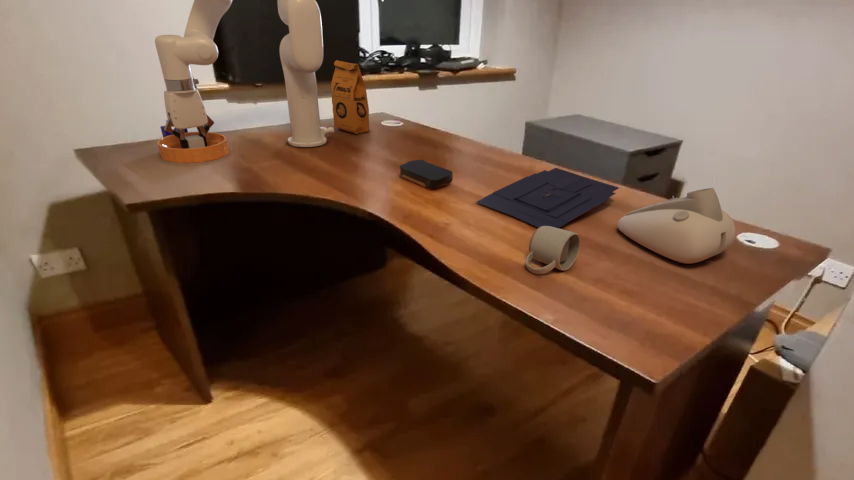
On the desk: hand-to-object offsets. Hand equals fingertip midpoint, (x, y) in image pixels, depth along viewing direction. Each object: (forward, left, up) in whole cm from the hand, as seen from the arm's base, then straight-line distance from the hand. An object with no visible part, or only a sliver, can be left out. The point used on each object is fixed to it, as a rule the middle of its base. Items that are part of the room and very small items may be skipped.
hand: (195, 150), depth 161 cm
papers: (-52, +94, -2) cm, 107 cm away
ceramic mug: (-24, +115, -2) cm, 117 cm away
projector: (-52, +126, -2) cm, 136 cm away
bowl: (0, 0, -1) cm, 1 cm away
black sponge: (-39, +61, -2) cm, 72 cm away
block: (0, 0, -1) cm, 1 cm away
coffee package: (-55, +4, -2) cm, 55 cm away
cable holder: (-3, -24, -2) cm, 24 cm away
